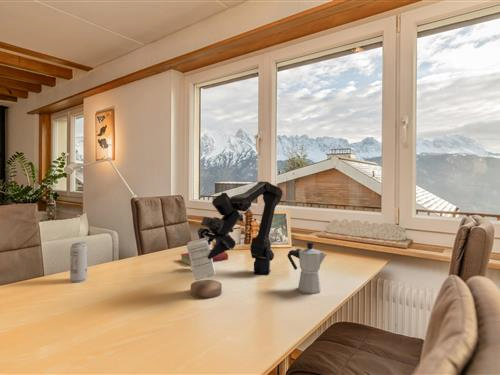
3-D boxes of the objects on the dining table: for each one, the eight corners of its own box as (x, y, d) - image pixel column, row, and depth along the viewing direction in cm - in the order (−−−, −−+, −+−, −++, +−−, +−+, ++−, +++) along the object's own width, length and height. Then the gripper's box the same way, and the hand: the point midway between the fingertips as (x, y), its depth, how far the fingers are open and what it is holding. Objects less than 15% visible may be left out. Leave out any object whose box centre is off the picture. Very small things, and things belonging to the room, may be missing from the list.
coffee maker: (327, 288, 119) (328, 241, 119) (325, 296, 111) (326, 245, 111) (289, 283, 124) (289, 238, 124) (284, 290, 116) (285, 242, 116)
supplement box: (196, 274, 117) (187, 241, 116) (215, 268, 117) (207, 236, 116) (195, 281, 109) (186, 246, 108) (215, 275, 110) (207, 241, 109)
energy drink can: (89, 280, 125) (89, 243, 125) (73, 283, 121) (73, 245, 120) (84, 277, 129) (84, 241, 129) (67, 280, 125) (68, 242, 124)
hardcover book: (228, 260, 161) (228, 252, 161) (191, 267, 148) (191, 258, 148) (215, 255, 170) (215, 248, 170) (180, 261, 157) (180, 253, 157)
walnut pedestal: (225, 289, 117) (225, 281, 117) (215, 300, 106) (215, 291, 106) (197, 286, 119) (197, 278, 119) (185, 296, 109) (185, 288, 109)
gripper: (201, 206, 123) (175, 238, 116) (228, 210, 108) (200, 246, 102) (218, 225, 128) (194, 255, 121) (246, 231, 113) (220, 266, 107)
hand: (201, 255), depth 113 cm, fingers closed on supplement box, 9 cm apart
